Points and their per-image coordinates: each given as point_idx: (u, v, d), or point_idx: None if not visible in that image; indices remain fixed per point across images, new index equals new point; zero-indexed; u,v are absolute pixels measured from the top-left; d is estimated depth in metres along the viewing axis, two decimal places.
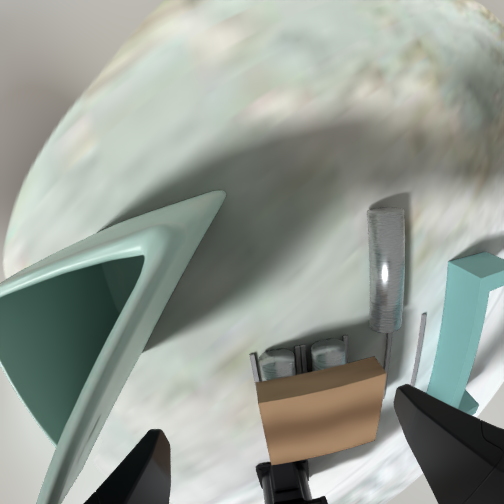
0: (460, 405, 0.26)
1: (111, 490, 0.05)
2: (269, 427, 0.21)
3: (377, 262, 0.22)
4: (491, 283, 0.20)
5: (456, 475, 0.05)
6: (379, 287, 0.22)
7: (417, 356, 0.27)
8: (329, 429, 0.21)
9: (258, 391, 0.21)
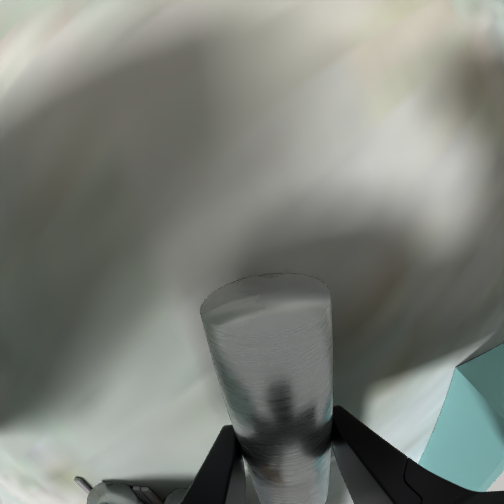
0: None
1: (202, 496, 0.05)
2: None
3: (238, 434, 0.07)
4: None
5: None
6: (253, 472, 0.08)
7: None
8: None
9: None
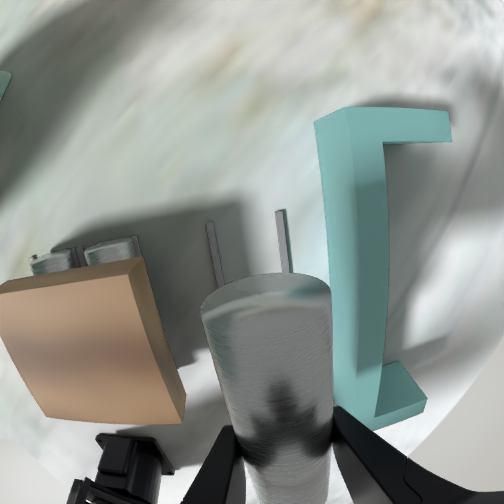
0: (392, 396, 0.18)
1: (202, 496, 0.05)
2: (8, 344, 0.12)
3: (238, 435, 0.07)
4: (383, 125, 0.11)
5: None
6: (253, 473, 0.08)
7: None
8: (81, 374, 0.13)
9: None
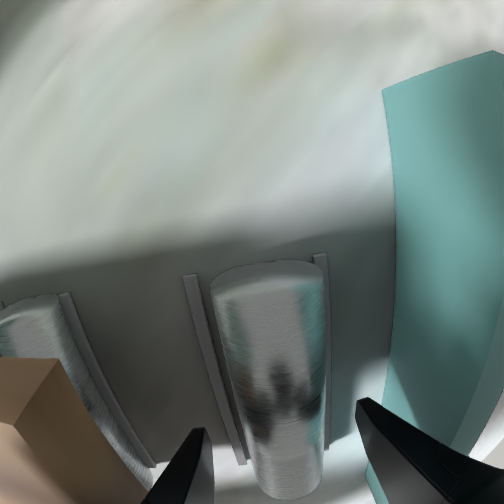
0: None
1: (163, 495, 0.05)
2: None
3: (241, 407, 0.08)
4: None
5: (412, 497, 0.05)
6: (254, 447, 0.09)
7: None
8: (16, 499, 0.05)
9: None
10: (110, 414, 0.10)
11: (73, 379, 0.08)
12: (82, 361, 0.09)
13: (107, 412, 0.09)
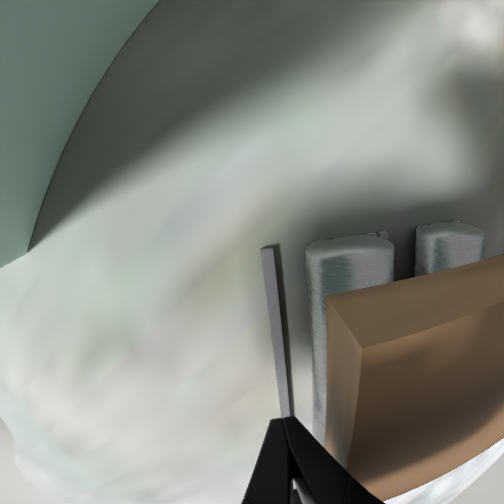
0: None
1: (265, 491, 0.05)
2: (367, 436, 0.06)
3: None
4: None
5: None
6: None
7: None
8: (480, 418, 0.07)
9: (345, 315, 0.06)
10: None
11: None
12: None
13: None
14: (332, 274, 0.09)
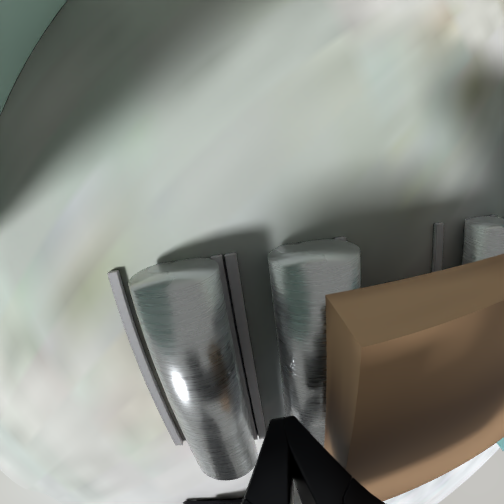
0: None
1: (265, 491, 0.05)
2: (366, 436, 0.06)
3: None
4: None
5: None
6: None
7: None
8: (480, 417, 0.07)
9: (345, 314, 0.06)
10: None
11: None
12: None
13: None
14: (137, 302, 0.08)
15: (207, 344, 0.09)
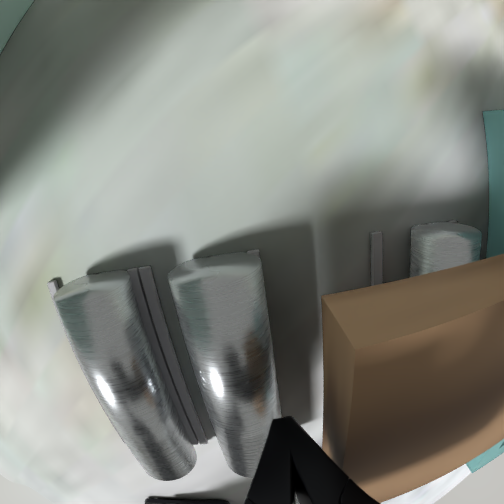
0: None
1: (268, 490, 0.05)
2: (363, 437, 0.06)
3: None
4: None
5: None
6: None
7: None
8: (479, 419, 0.07)
9: (340, 315, 0.06)
10: None
11: (269, 334, 0.10)
12: None
13: None
14: (58, 311, 0.08)
15: (117, 351, 0.09)
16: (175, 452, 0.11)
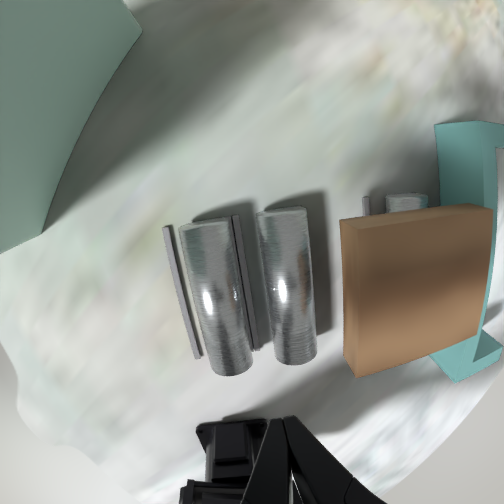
0: (478, 347, 0.20)
1: (264, 491, 0.05)
2: (367, 288, 0.14)
3: None
4: (495, 135, 0.13)
5: None
6: None
7: None
8: (437, 301, 0.15)
9: (349, 223, 0.15)
10: None
11: None
12: None
13: None
14: (184, 237, 0.17)
15: (221, 261, 0.17)
16: (242, 346, 0.19)
